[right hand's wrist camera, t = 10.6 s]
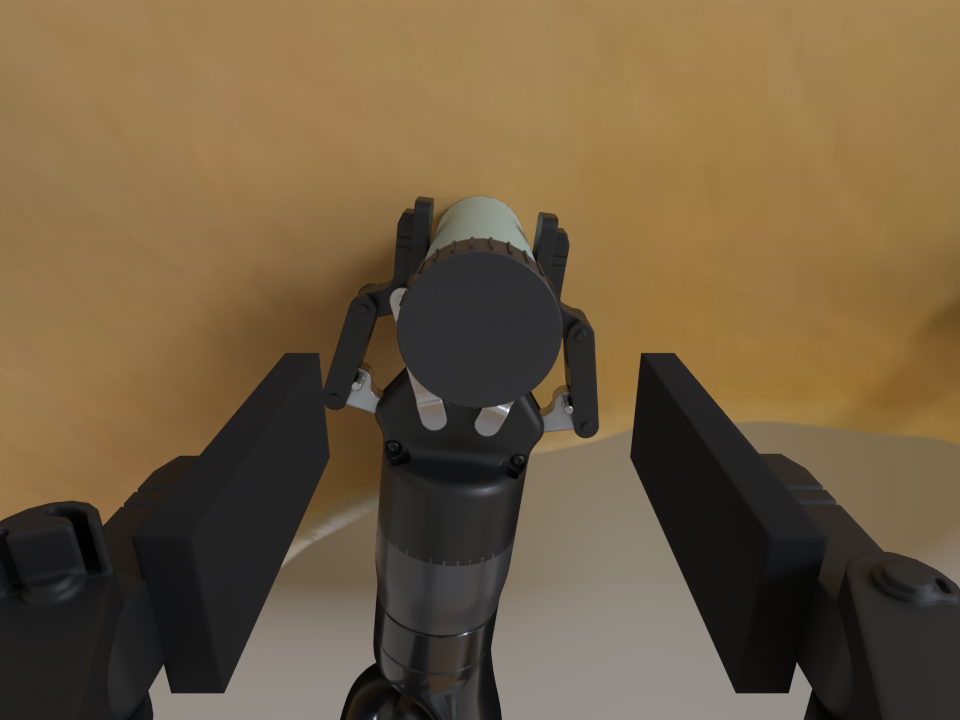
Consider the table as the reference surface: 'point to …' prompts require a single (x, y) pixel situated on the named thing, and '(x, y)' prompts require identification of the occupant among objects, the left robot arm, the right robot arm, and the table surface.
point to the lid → (479, 323)
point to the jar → (479, 224)
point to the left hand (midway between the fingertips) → (486, 209)
